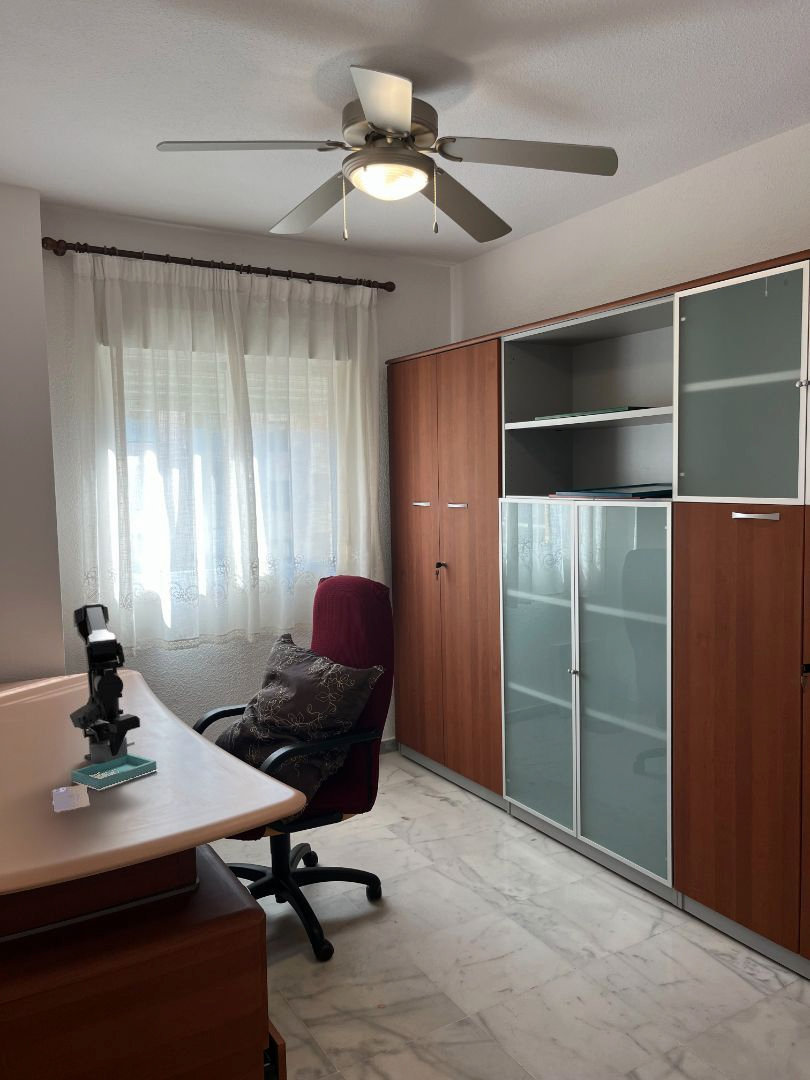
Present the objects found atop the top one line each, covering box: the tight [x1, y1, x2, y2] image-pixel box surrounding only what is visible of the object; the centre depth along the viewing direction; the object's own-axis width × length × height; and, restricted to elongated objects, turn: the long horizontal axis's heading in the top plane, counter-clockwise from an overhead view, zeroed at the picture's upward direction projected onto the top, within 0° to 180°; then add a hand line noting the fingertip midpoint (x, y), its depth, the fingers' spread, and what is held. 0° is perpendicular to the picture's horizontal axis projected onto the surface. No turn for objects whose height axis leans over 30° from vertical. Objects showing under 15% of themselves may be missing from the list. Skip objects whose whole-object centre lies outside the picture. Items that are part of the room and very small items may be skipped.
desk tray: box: [70, 752, 158, 789], centre depth 191 cm, size 12×16×2 cm
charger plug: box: [90, 736, 135, 765], centre depth 191 cm, size 11×4×4 cm, turn 143°
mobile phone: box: [51, 786, 80, 811], centre depth 178 cm, size 8×1×15 cm
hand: (109, 754), depth 190 cm, fingers closed on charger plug, 4 cm apart
